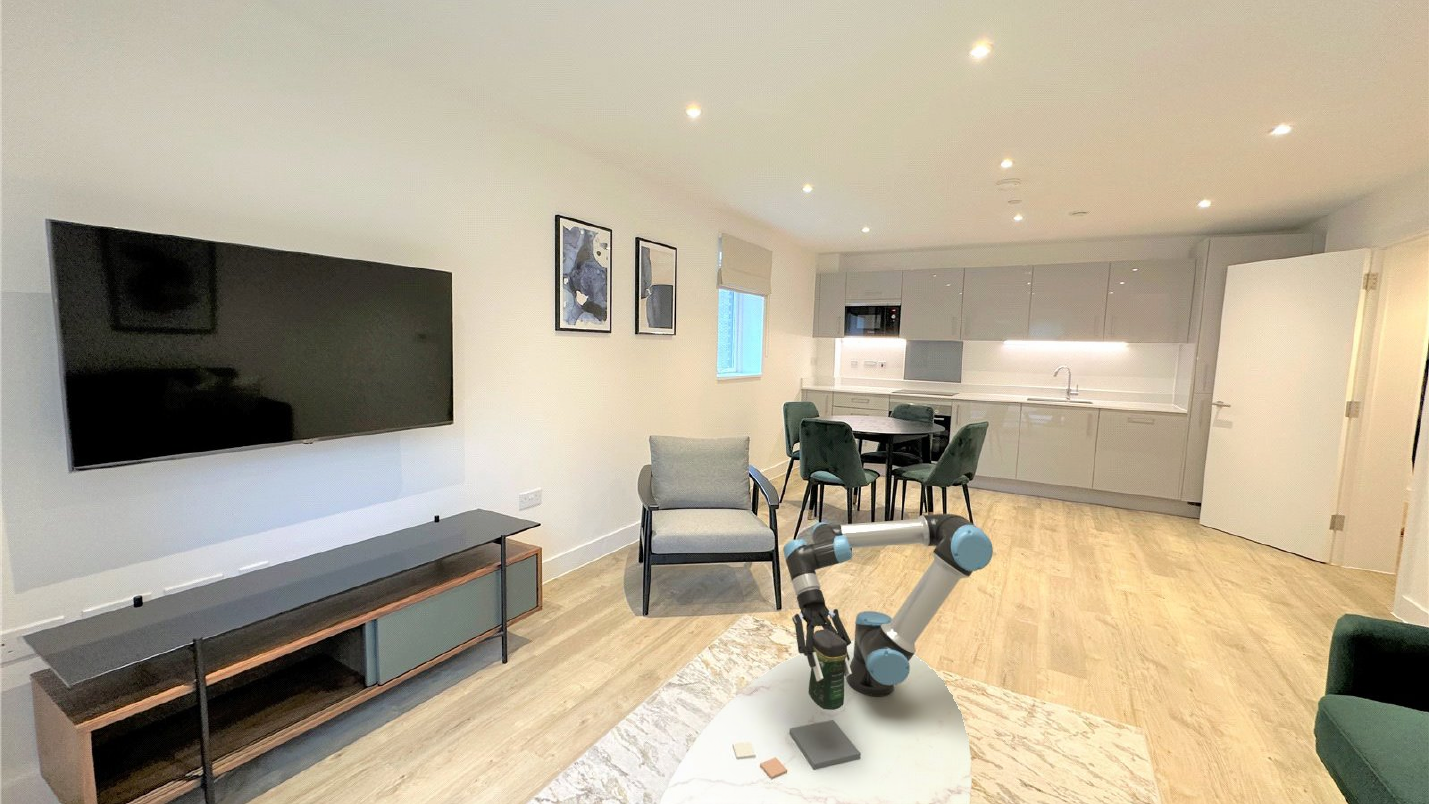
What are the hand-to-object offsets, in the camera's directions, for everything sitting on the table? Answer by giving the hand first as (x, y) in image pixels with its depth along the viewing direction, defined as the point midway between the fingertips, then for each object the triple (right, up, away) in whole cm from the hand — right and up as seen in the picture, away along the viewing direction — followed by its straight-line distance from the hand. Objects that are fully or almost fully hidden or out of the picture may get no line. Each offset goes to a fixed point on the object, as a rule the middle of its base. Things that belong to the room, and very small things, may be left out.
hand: (834, 677), depth 146 cm
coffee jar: (-1, -8, +4) cm, 9 cm away
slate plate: (-2, -21, +5) cm, 22 cm away
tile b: (-24, -21, +2) cm, 32 cm away
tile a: (-17, -22, -4) cm, 28 cm away
